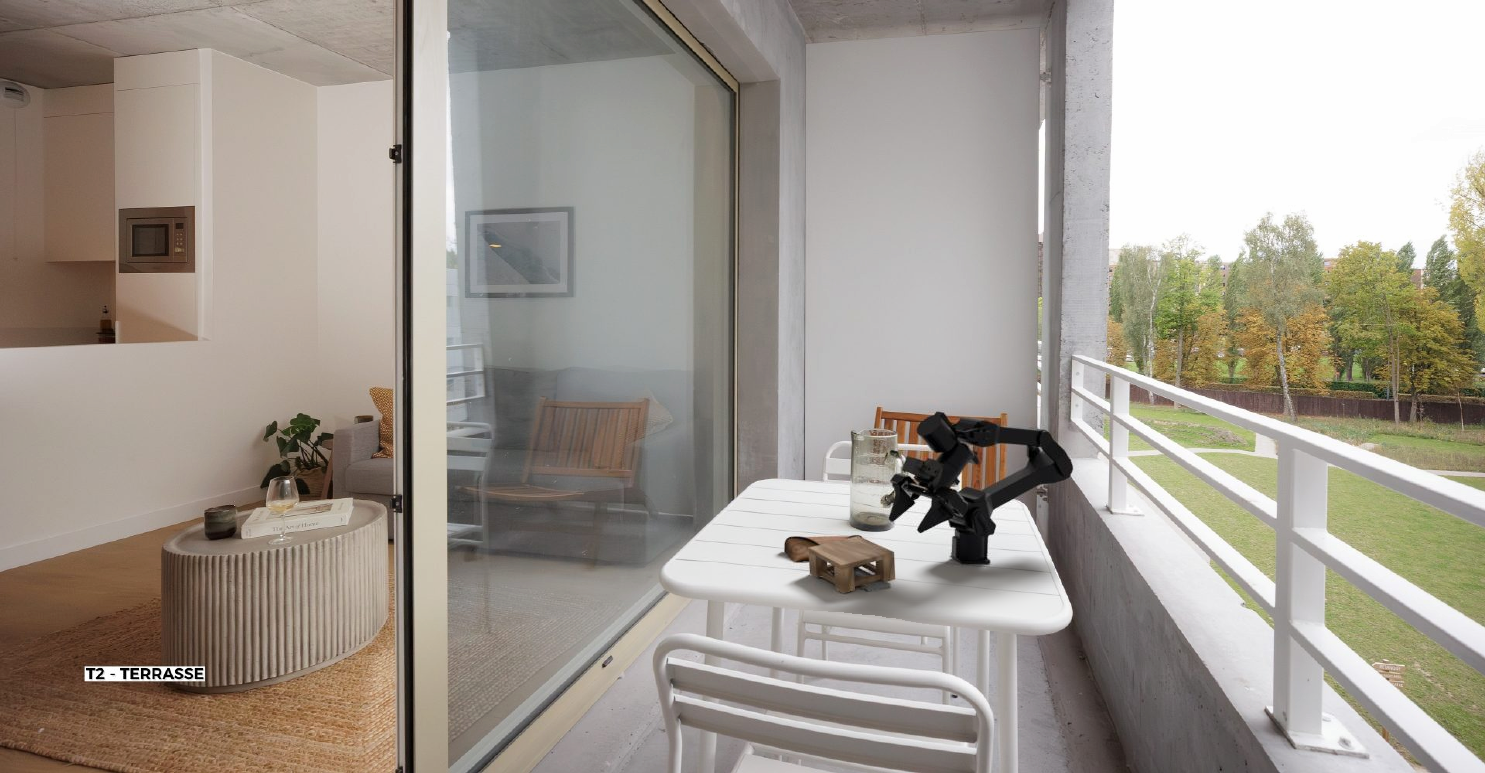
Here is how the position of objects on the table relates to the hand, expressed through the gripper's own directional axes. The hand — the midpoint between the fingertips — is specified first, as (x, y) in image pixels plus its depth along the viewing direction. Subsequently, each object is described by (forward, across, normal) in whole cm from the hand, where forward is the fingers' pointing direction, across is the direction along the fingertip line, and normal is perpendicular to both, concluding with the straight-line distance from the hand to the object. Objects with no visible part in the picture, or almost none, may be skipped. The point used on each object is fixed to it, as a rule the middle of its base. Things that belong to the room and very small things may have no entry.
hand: (904, 525), depth 157 cm
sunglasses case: (+13, -15, +1) cm, 20 cm away
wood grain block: (+9, 0, -1) cm, 9 cm away
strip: (+14, 0, -1) cm, 14 cm away
